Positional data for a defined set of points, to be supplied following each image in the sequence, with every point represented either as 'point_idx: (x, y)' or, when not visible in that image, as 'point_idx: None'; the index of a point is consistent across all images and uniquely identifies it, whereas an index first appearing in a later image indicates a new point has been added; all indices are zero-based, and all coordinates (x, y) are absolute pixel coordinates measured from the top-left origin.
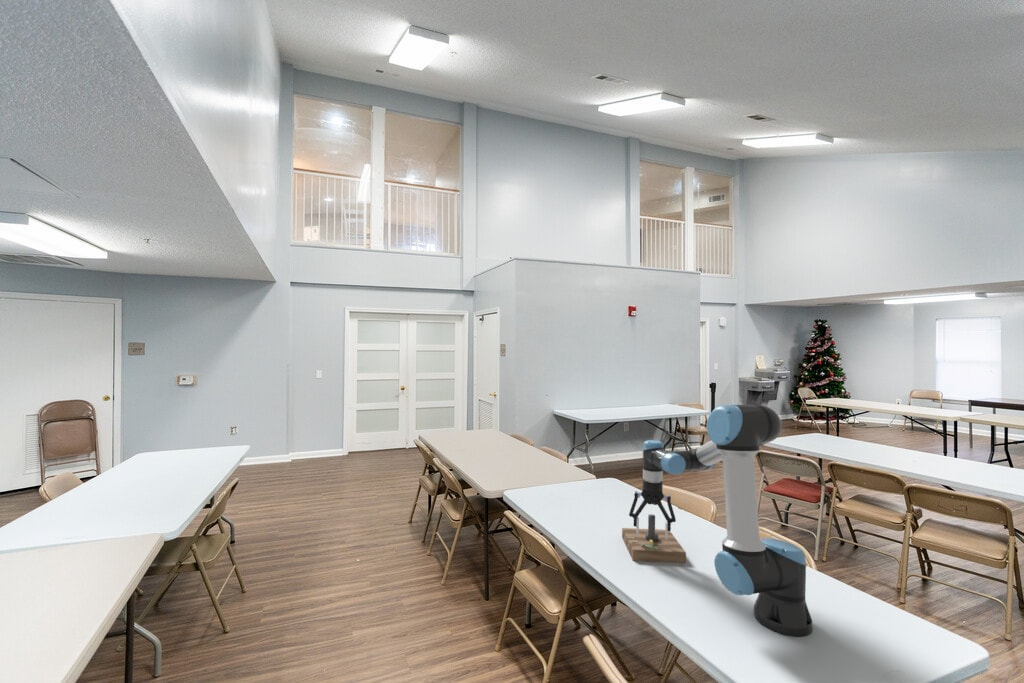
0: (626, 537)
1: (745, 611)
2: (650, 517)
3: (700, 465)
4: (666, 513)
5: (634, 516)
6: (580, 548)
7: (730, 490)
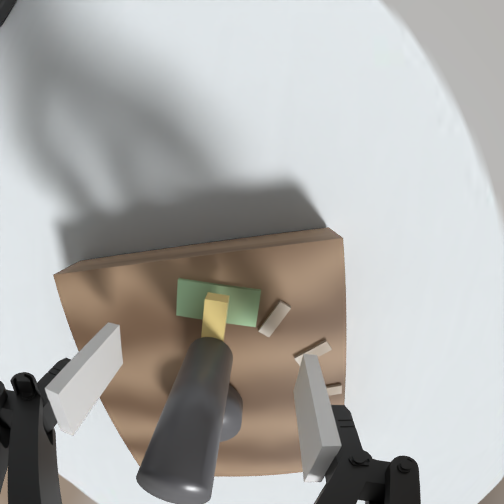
0: (343, 398)
1: (22, 5)
2: (187, 466)
3: None
4: (14, 457)
5: (367, 464)
6: (501, 298)
7: None
